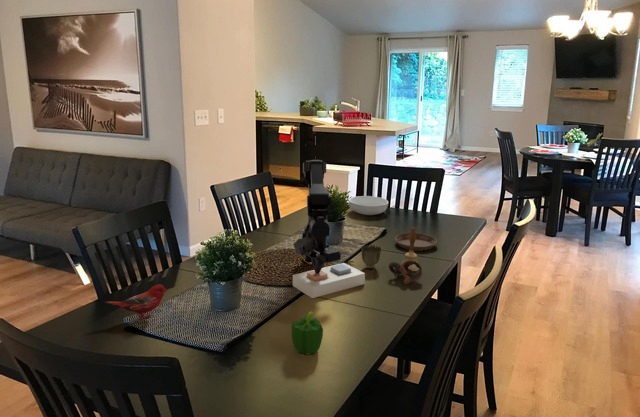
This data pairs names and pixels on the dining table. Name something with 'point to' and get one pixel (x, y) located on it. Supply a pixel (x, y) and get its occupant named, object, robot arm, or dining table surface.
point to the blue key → (340, 269)
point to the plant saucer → (416, 241)
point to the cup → (370, 255)
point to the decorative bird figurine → (143, 301)
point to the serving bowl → (368, 205)
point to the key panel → (328, 282)
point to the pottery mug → (405, 270)
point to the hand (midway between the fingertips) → (317, 273)
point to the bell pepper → (307, 334)
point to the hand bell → (412, 250)
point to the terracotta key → (317, 276)
